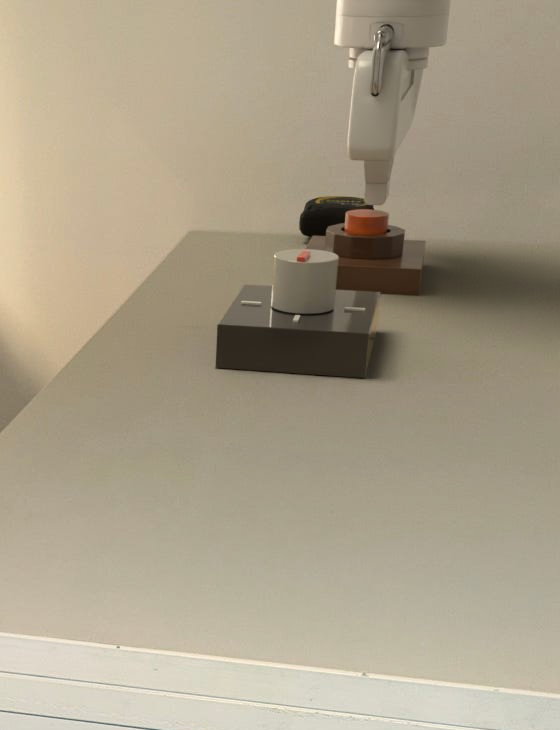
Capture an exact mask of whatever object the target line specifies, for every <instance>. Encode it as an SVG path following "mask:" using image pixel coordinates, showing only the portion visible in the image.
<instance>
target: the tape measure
mask: <svg viewBox="0 0 560 730" xmlns="http://www.w3.org/2000/svg"><path fill="white" fill-rule="evenodd" d="M360 209H367V210H375V207H374V205H367V204H366V203H365V201H364V197H357V196H345V195H344V196H343V195H329V196H319V197H315V198H311V199H309V200H308V201H307V202H306V203H305V205H304V208H303V210H302V212H301V213H300V215H299V222H298V228H299V231H300V233H301V234H302V235H303V236H304V237H308V238H311V237H312V236H326V230H327V228H328V226H332V225H336V224H341V223H345V215H346V212H347V211H350V210H360Z"/></svg>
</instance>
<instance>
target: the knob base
mask: <svg viewBox="0 0 560 730" xmlns="http://www.w3.org/2000/svg"><path fill="white" fill-rule="evenodd" d="M271 296H272V285H262V284H261V285H260V284H244V285H243V286H242V288H240V291H239V292H238V294H237V295H236V297H234V299H233V301H232V302H231V304H230V305H229V307H228V308H227V310H226V311H225V313H224V314H223V315H222V317H221V319H220V320H219V321H218V323H217V325H216V346H215V368H216V369H229V370H240V371H241V370H243V371H254V372H255V371H256V372H257V371H258V372H269V373H270V372H272V373H283V374H284V373H285V374H286V373H287V374H297V375H298V374H299V375H313V376H327V377H339V378H341V377H342V378H355V379H356V378H357V379H366V375H367V371H368V367H369V363H370V359H371V355H372V351H373V348H374V343H375V339H376V336H377V331H378V322H379V313H380V312H379V311H380V304H381V303H380V302H381V294H380V292H369V291H352V290H336V297H335V307H334V309H333V310H331V311H328V312H324V313H318V314H295V313H288V312H283V311H279V310H276V309H274V308H273V307H272V306H271Z"/></svg>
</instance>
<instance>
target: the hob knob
mask: <svg viewBox="0 0 560 730" xmlns="http://www.w3.org/2000/svg"><path fill="white" fill-rule="evenodd" d="M338 263H339V256H338V255H337V254H335V253H332V252H328V251H323V250H314V249H305V248H294V249H285V250H280V251H277V252H275V253H274V255H273V268H272V280H271V281H272V282H271V283H272V284H271V286H272V296H271V306H272V307H273V308H274V309H276V310H279V311H283V312H288V313H295V314H318V313H324V312H328V311H331V310H333V309H334V307H335V297H336V285H337V274H338Z"/></svg>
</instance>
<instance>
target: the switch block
mask: <svg viewBox="0 0 560 730" xmlns="http://www.w3.org/2000/svg"><path fill="white" fill-rule="evenodd" d="M344 227H345V223H341V224H336V225H332V226H328V228H327V230H326V236H312V237H310V239H309V241H308V243H307V245H306V246H305V248H304V249H314V250H323V251H328V252H332V253H335V254H337V255H338V256H339V263H338V274H337V285H336V290H352V291H369V292H380V295H393V296H395V295H396V296H411V297H418V296H419V292H420V288H421V287H420V285H421V281H422V280H421V279H422V273H423V269H424V268H423V267H424V260H425V259H424V258H425V251H426V244H427V242H426V240H415V239H405V236H406V229H405V228H401V227H400V226H397V225H392V224H388V229H387V233H385V234H374V235H365V234H353V233H347V232H344Z"/></svg>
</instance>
